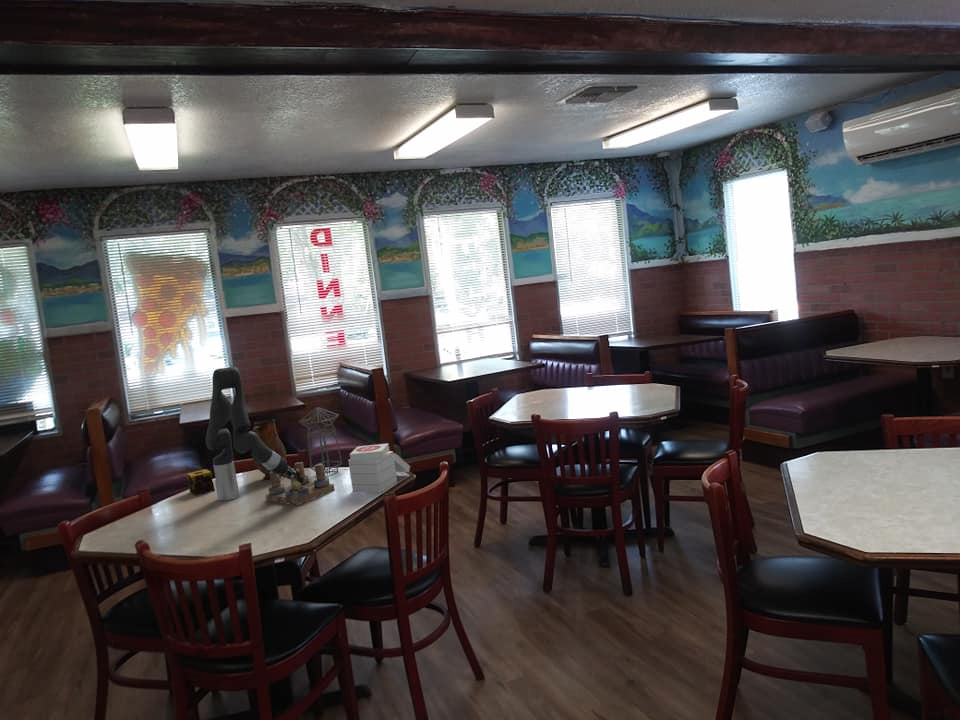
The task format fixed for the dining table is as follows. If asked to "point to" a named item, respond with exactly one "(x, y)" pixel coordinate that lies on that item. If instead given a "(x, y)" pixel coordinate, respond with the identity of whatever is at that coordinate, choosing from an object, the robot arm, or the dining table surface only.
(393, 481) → the pizza box stack
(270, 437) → the pitcher
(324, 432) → the geometric lantern
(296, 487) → the loose leg
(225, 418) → the robot arm
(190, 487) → the yellow and brown cube
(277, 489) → the stool
